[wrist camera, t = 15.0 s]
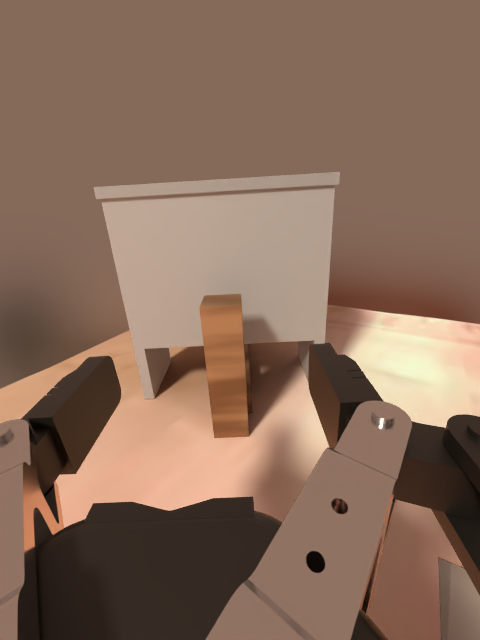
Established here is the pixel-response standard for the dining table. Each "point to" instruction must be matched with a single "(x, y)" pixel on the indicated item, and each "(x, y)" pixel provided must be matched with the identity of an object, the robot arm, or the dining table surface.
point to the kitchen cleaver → (458, 603)
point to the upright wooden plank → (226, 364)
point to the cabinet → (221, 260)
